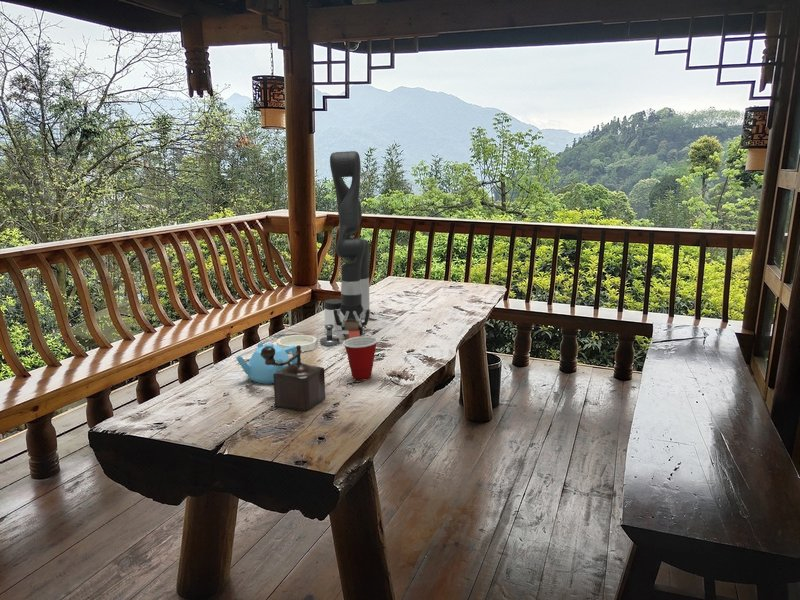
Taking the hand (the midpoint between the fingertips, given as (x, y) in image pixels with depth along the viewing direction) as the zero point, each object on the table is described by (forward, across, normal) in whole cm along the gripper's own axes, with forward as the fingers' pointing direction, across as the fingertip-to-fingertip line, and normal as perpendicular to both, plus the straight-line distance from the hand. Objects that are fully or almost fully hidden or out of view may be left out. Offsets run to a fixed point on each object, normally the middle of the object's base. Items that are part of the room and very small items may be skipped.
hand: (352, 335), depth 225 cm
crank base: (+1, +8, +6) cm, 10 cm away
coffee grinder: (+1, +8, +64) cm, 65 cm away
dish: (+1, +18, +12) cm, 22 cm away
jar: (+1, +8, -10) cm, 13 cm away
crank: (0, +1, +5) cm, 6 cm away
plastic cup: (+1, -8, +41) cm, 42 cm away
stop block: (+1, 0, 0) cm, 1 cm away
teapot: (+1, +20, +43) cm, 47 cm away
